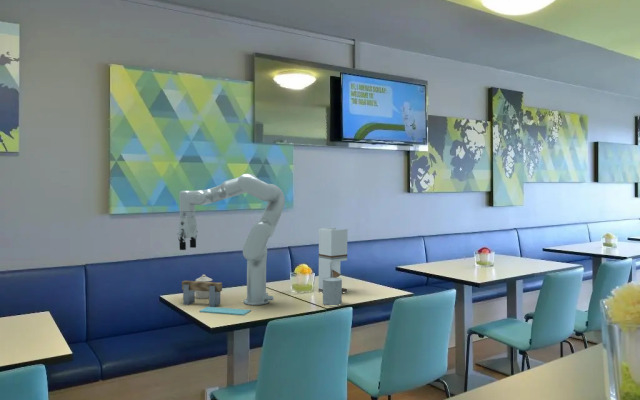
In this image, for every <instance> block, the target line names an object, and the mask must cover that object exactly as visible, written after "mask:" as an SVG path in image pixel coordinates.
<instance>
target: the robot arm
mask: <svg viewBox="0 0 640 400" xmlns="http://www.w3.org/2000/svg"><path fill="white" fill-rule="evenodd" d="M243 194H248V195H250V196H252V197H254V198H256V199H258V200H261V201H263V202H265V203H266V202H267V205H266V207H265V209H264V210H263V213H262V215H261V218H260V219H259V221H257V222H255V223H254V224H253V226H252V227H251V229H250V231H249V233H248V235H247V238H246V239H245V242H244V245H243V247H242V255H243V257H244V258H245V260H247V261H246V263H247V264H246V298H245V299H244V300H243V303H244V304H245V305H249V306H261V305H266V304H269V303H270V301H274V299H275V297H274V296H273V295H269V293H268V292H267V259H268V258H267V257H268V247H267V243H268V240H269V239H270V238H271V237H272V236H273V235H274V233H275V230H276V228H277V225H278V224H279V221H280V218H281V216H282V214H283V211H284V209H285V203H286V202H285V195H284V192H283V191H282V189H281V188H280V187H279V186H277V185H276V184H274V183H267V182H265V181H263V180H262V179H259V178H258V177H257V176H256V175H254V174H253V173H243V174H241V175H239V176H238V177H235V178H231V179H227V180H225V181H223V182H222V183H221V184H220V185H217V186H214V187H213V186H212V187H211V188H208V189H197V190H181V191H179V225H178V226H179V228H178V233H177V234H176V235H177V239H178V242H179V243H178V244H179V251H186V250H187V244H186V239H187V238H188V239H189V248H195V249H196V247H197V236H198V227H197V218H196V206H204V205H205V206H206V205H209V204H213V203H216V202H219V201H223V200H226V199H231V198H233V197H236V196H240V195H243Z"/></svg>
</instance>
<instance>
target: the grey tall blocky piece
mask: <svg viewBox="0 0 640 400" xmlns="http://www.w3.org/2000/svg"><path fill="white" fill-rule="evenodd" d="M345 261H348V228H341V229H340V228H339V229H337V228H336V227H325V228H319V229H318V293H320V292H322V293H321V294H323V279H324V278H339V277H340V276H341V262H345ZM343 292H347V293H348V289H347V288H344V287H342V293H343ZM343 294H344V293H343Z"/></svg>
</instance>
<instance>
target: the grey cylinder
mask: <svg viewBox="0 0 640 400" xmlns="http://www.w3.org/2000/svg"><path fill="white" fill-rule="evenodd" d="M342 288H343V279H342V278H339V277H337V278H324V279H323V293H322V305H323V304H325V305H339V304H341V303H342V304H343V301H342V298H343V297H342V295H343V294H342ZM325 305H324V306H325Z"/></svg>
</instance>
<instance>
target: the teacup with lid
mask: <svg viewBox="0 0 640 400" xmlns="http://www.w3.org/2000/svg"><path fill="white" fill-rule="evenodd" d="M194 281H202V282H214V280H213V279H212V278H210V277H208V276H206V274H202V275H201V276H200V277H198V278H196V279H195V280H194ZM195 298H196V299H199V298H200V299H203V300H204V299H209V292H208V291H195Z"/></svg>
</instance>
